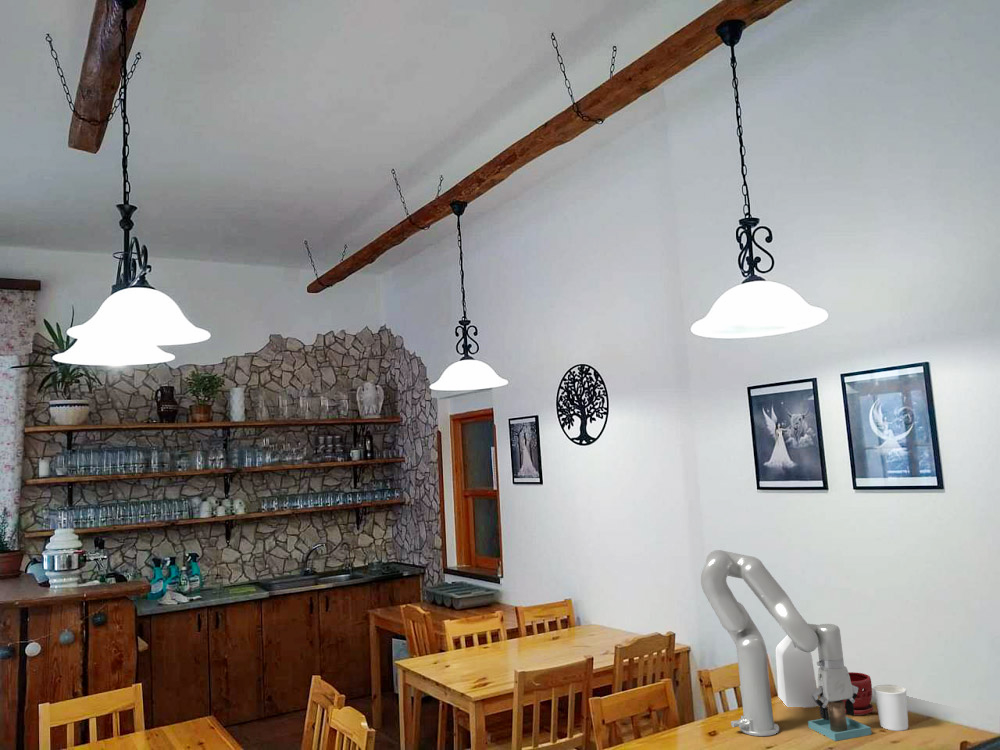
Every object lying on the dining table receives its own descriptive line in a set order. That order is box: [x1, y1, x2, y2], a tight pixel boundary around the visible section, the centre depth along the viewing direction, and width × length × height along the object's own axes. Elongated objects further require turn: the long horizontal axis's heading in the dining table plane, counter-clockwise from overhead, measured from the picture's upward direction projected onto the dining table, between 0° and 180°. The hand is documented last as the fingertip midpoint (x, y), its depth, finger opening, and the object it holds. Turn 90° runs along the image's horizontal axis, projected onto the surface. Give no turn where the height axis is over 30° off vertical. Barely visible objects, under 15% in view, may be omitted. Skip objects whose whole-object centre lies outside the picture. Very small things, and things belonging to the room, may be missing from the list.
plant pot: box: [843, 671, 874, 716], centre depth 274 cm, size 13×13×12 cm
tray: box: [807, 716, 872, 742], centre depth 255 cm, size 14×14×2 cm
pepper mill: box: [827, 700, 847, 732], centre depth 256 cm, size 5×5×10 cm
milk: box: [775, 634, 818, 708], centre depth 288 cm, size 12×12×26 cm
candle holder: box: [872, 684, 909, 732], centre depth 256 cm, size 10×10×12 cm
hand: (837, 716), depth 256 cm, fingers open, 9 cm apart
